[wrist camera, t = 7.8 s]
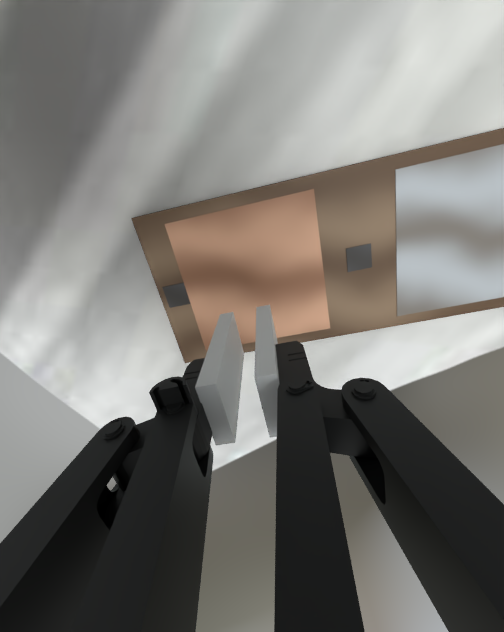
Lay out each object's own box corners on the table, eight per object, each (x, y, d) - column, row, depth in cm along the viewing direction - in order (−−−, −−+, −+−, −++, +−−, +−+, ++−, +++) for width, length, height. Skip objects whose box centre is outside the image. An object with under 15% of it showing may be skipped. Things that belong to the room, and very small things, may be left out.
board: (134, 217, 23) (130, 218, 22) (577, 110, 19) (588, 107, 18) (186, 359, 28) (184, 363, 27) (538, 297, 25) (546, 299, 24)
